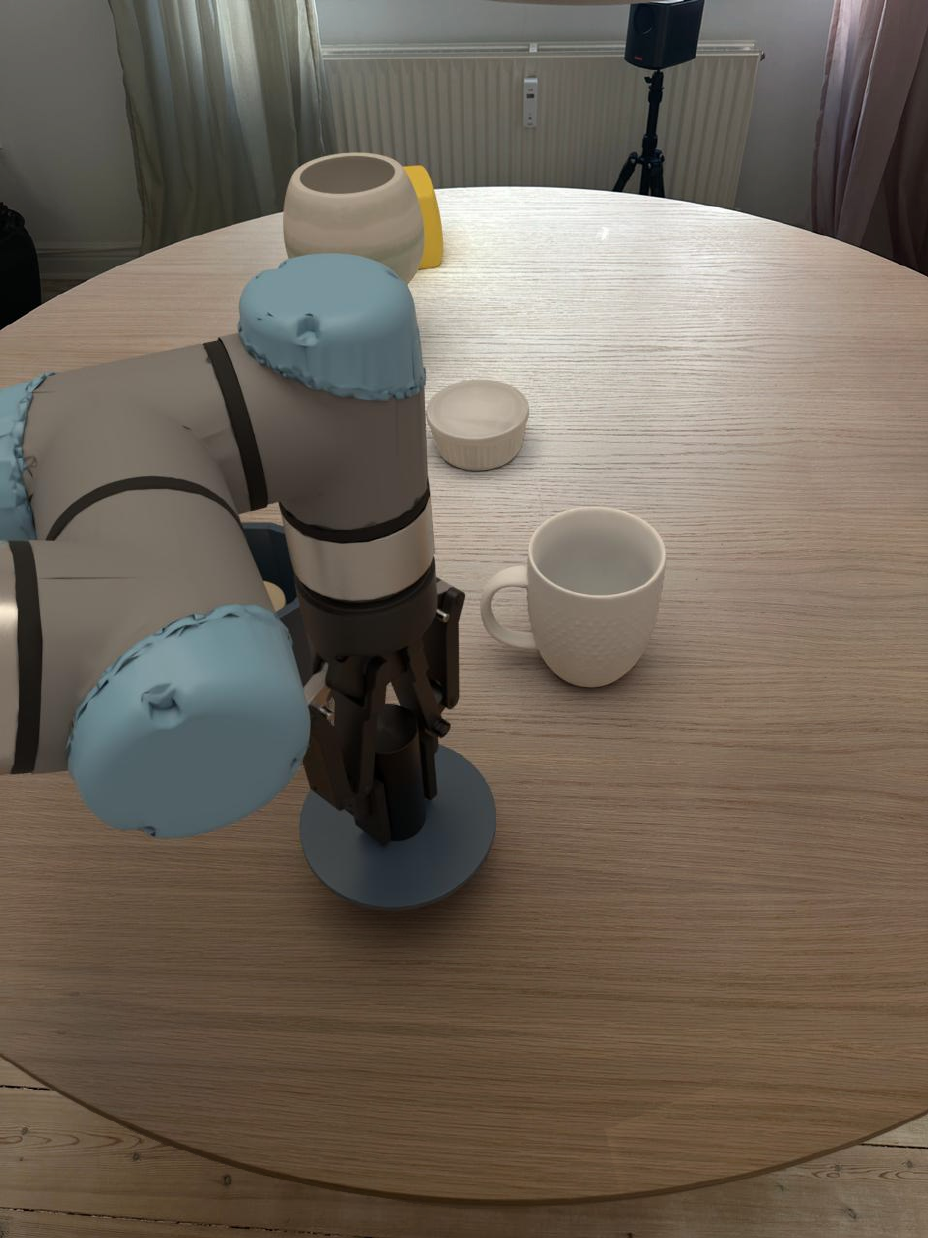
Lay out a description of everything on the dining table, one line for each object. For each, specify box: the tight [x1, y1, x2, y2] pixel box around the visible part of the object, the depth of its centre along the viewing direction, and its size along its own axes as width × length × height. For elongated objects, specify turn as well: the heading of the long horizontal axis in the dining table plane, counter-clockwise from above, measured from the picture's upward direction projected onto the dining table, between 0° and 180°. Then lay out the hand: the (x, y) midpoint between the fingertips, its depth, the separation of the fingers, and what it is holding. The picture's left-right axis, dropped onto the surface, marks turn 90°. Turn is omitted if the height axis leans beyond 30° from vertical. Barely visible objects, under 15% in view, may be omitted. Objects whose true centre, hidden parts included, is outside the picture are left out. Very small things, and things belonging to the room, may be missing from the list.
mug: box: [479, 506, 667, 688], centre depth 82 cm, size 15×11×13 cm
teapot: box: [402, 165, 444, 270], centre depth 139 cm, size 20×12×12 cm, turn 9°
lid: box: [298, 703, 497, 912], centre depth 66 cm, size 14×14×11 cm
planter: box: [282, 152, 425, 286], centre depth 116 cm, size 16×16×22 cm
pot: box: [238, 514, 332, 701], centre depth 82 cm, size 13×18×12 cm
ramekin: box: [425, 379, 530, 472], centre depth 108 cm, size 11×11×5 cm
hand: (396, 808), depth 68 cm, fingers closed on lid, 4 cm apart
